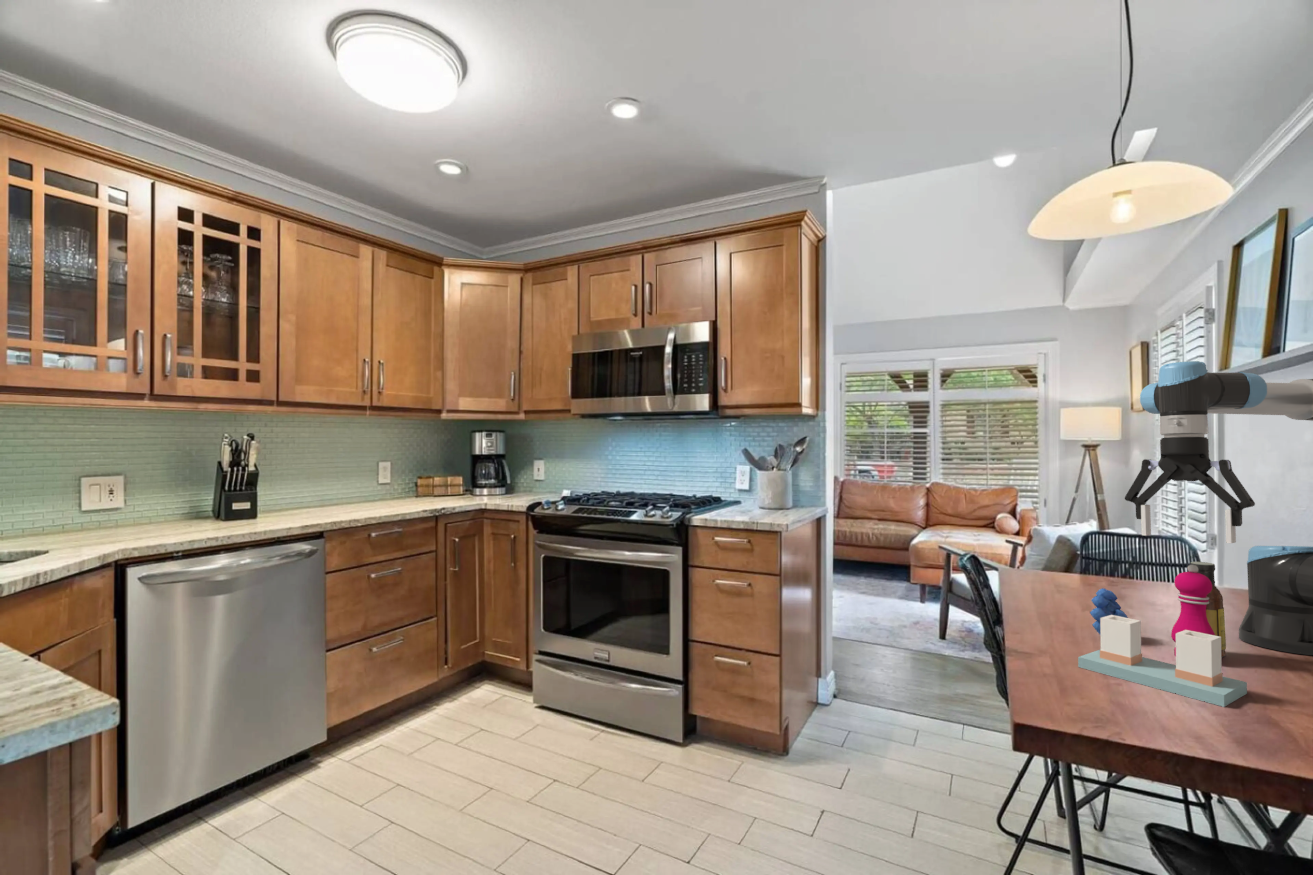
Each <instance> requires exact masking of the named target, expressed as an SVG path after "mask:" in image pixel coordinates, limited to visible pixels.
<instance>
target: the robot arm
mask: <svg viewBox="0 0 1313 875" xmlns="http://www.w3.org/2000/svg"><path fill="white" fill-rule="evenodd" d="M1139 402H1140V405H1141V407H1142V408H1143V410H1145V411H1146V412H1148V413H1149V414H1153V415H1158V414H1159V432H1160V434H1159V435H1161V436H1163V437H1161V439H1159V440H1160V441H1159V442H1160V444H1159V445H1160V459H1159V460H1153V459H1148V458H1147V459H1146V458H1145V459H1142V461H1141V468H1140V470H1139V472H1138V474H1137V476H1136V477H1135V479H1134V481H1133V482H1132V484H1131V486H1130V487H1129V489H1128V491H1127V492H1126V494H1125V496H1124V500H1125V501H1127V502H1130V503H1133V504H1134V505H1135V517H1136V520H1141V524H1140V525H1141V528H1140V530H1141V536H1145V537H1147V536H1151V535H1152V526H1151V525H1152V524H1151V521H1152V520H1151V517H1152V516H1151V504H1147V502H1148V501H1149V500H1150V499H1151V498H1152V497H1153V496H1155V495H1156V494H1157V493H1158V492H1159V491H1160V490H1161V489H1162V488H1163V487H1164V486H1165V485H1166V484H1168V483H1169V482H1171V481H1174V482H1183V481H1185V482H1197V481H1199V482H1200V483H1202V484H1204V486H1206V488H1208V489H1209V490H1210V492H1212V493H1214V495H1216V497H1218V498H1219V499H1220V500H1221V501H1222V502H1223V503H1224V504H1225V505H1226V506H1227V507H1229V508H1228V509H1225V511H1224V513H1225V515H1224V516H1225V519H1224V520H1225V541H1226V543H1227V544H1235V543H1236V542H1237V537H1236V536H1237V534H1236V531H1237V530H1236V527H1241V526H1242V525H1243V510H1244V509H1246V508H1247V509H1248V508H1251V507H1255V505H1256V503H1255V501H1254V499H1253V498H1252V497H1251V494H1249V492H1248V491H1247V489H1246V488H1245V487H1244V486H1243V484H1242V482H1241V481H1240V480H1239V478H1238V477H1237V475H1236V474H1235V473H1234V471H1233V467H1232V462H1231V460H1229V459H1220V460H1213V461H1212V460H1211V459H1210V451H1209V446H1210V445H1209V444H1210V442H1209V438H1208V437H1207V436H1206V437H1205V435H1208V434H1209V420H1208V418H1209V417H1208V415H1209V414H1211V415H1212V414H1219V415H1221V414H1222V415H1223V414H1224V415H1253V416H1254V415H1258V416H1259V415H1260V416H1286V417H1287V418H1288V419H1291V420H1295V421H1311V422H1313V378H1298V379H1295V380H1292V381H1290V382H1266V380H1265V379H1264V378H1263V377H1262V376H1261V375H1259V374H1256V373H1252V372H1243V371H1238V372H1208V370H1207V366H1206V363H1205V362H1203V361H1200V360H1198V361H1197V360H1194V361H1193V360H1192V361H1191V360H1189V361H1178V362H1177V361H1176V362H1169V363H1166V364H1163V365H1162V366H1160V368H1159V370H1158V381H1157V382H1155V383H1154V382H1153V383H1150V384H1148V385H1147V384H1146V386H1145V387H1143V389H1142V390H1141V392H1140V396H1139ZM1157 467H1158V468H1160V470H1162V473H1161V474H1160V475H1159V476H1158V477H1157V479H1156V480H1154V482H1152V484H1150V485H1149V486H1148V487H1147V488H1146V489H1145V490H1144V491H1143V492H1142V493H1141V491H1142V489H1143V487H1144V485H1145V484H1146V483H1147V480H1148V479H1149V478H1150V476H1151V474H1152V472H1153V471H1154V470H1156V469H1157ZM1212 467H1213V468H1214V469H1215V470H1216V471H1218V472H1220V474H1221V476H1222V477H1223V479H1224V480H1225V481H1226V483H1227V484H1228V485H1229V487H1230V489H1231V490H1232V491H1233V494H1234V495H1235V496H1236V497H1237V499H1238V500H1239V501H1238V500H1237V499H1236V498H1235V497H1234V496H1233V495H1232V494H1230V492H1228V491H1227V490H1226V488H1224V487H1222V486H1221V485H1220V484H1219V483H1218V482H1217V481H1216V480H1215V479H1214V478H1213V477H1212V476H1211V475H1210V474H1209V473H1208V471H1210V470H1211V469H1212ZM1139 494H1140V495H1139ZM1246 565H1247V567H1246V568H1247V587H1248V588H1247V589H1248V590H1247V593H1248V595H1247V596H1248V608H1247V610H1246V612H1245V614H1244V616H1243V618H1242V620H1241V623H1240V625H1239V628H1238V639H1239V640H1241V641H1242V642H1245V643H1247V644H1250V645H1254V646H1258V647H1261V648H1265V649H1270V650H1275V651H1280V652H1285V653H1290V654H1298V655H1306V656H1313V546H1312V545H1310V546H1308V545H1307V546H1306V545H1305V546H1304V545H1303V546H1301V545H1299V546H1298V545H1296V546H1294V545H1254V546H1252V547H1250V548H1249V550H1248V553H1247V560H1246Z"/></svg>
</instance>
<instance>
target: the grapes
mask: <svg viewBox="0 0 1313 875" xmlns="http://www.w3.org/2000/svg"><path fill="white" fill-rule="evenodd" d="M1117 600H1118V597H1117V595H1116V594H1115V592H1113V591H1112V590H1108V589H1106V588H1104V587H1103V588H1100V589H1098V590H1097V591H1096V592H1095V596H1094V597H1092V598H1091V602H1092V604H1093V605H1094V606H1095V608H1093V609H1091V611H1089V614H1090V615H1091V617H1092V618H1093V620H1095V621H1094V622H1093V623H1092V627H1093V628H1094V630H1095V631H1096V632H1097V633H1098V634H1099V637H1101V632H1100V618H1102V617H1105V616H1109V615H1115V616H1120V617H1125V618H1129V616H1128V615H1127V614H1126V613H1125V611H1123V609H1122V606H1121V605H1120V604H1119V603H1118V601H1117Z"/></svg>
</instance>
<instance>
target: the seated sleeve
mask: <svg viewBox="0 0 1313 875" xmlns="http://www.w3.org/2000/svg"><path fill="white" fill-rule="evenodd" d="M1175 647H1176V657H1175V665H1176V669H1175V677H1177V678H1181V679H1185V680H1189V681H1192V682H1196V683H1200V684H1204V685H1208V686H1212V687H1213V686H1215V685H1216V684H1218V683H1220V682H1222V681H1223V677H1224V676H1223V675H1224V674H1223V672H1222V657H1221V637H1220V636H1215V635H1210V634H1205V633H1200V632H1195V631H1190V630H1184V631H1181V632H1178V633H1176V643H1175Z"/></svg>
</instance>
